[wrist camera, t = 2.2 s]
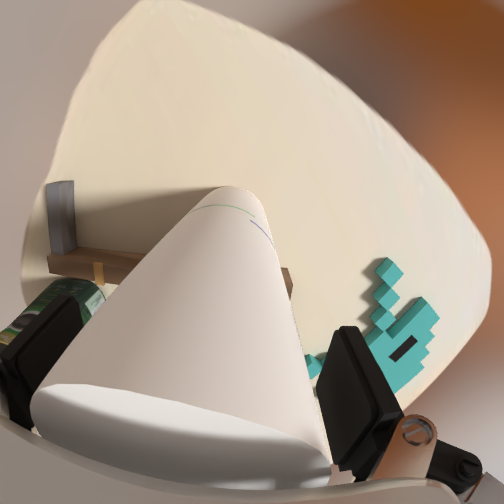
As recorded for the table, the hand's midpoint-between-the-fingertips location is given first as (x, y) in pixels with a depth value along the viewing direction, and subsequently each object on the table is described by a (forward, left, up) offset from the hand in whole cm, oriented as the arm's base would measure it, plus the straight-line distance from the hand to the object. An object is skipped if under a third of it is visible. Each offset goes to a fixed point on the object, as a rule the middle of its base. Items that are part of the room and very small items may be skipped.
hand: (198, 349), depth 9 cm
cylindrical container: (0, 0, -20) cm, 20 cm away
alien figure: (-16, -21, -21) cm, 34 cm away
